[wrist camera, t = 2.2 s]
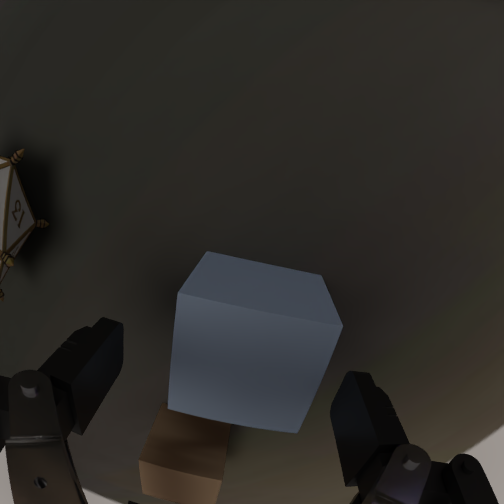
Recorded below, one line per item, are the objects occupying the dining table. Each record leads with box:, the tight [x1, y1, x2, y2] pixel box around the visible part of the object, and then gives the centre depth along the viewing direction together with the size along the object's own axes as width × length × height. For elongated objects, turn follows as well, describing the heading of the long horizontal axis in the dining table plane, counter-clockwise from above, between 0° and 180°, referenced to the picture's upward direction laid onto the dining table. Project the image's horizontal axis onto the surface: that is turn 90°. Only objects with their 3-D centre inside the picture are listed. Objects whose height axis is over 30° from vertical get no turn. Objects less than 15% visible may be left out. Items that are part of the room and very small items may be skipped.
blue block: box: [168, 251, 343, 433], centre depth 13 cm, size 6×6×5 cm
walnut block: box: [139, 403, 231, 504], centre depth 16 cm, size 4×4×5 cm
